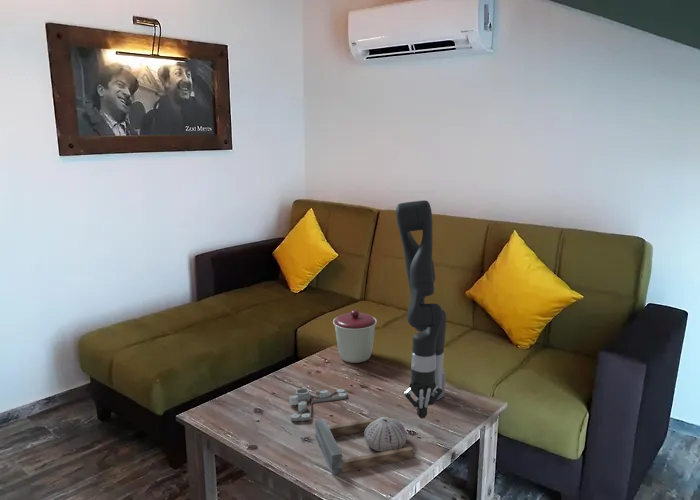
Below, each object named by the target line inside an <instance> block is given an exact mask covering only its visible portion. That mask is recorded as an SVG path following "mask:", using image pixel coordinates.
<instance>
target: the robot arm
mask: <svg viewBox="0 0 700 500" xmlns="http://www.w3.org/2000/svg"><path fill="white" fill-rule="evenodd" d="M432 213H433V212H432V208H431V204H430V202H429V201H428V200H425V199H424V200H416V201H415V200H414V201H408V202H407V201H406V202H401V203H398V204H397V205H396V208H395V217H396V223H397V228H398V232H399V236H400V240H401V244H402V248H403V255H404V262H405V264H404V265H405V270H406V275H407V280H408V285H409V291H410V297H409V298H410V299H409V305H408V309H407V322H408V324H409V325H410V327H412V328H414V329H415V330H416V331H418V332H417V333H415V334H414V335H413V337H412V349H411V350H412V352H411V353H412V355H411V362H410V363H411V365H410V367H411V368H410V383H409V386H408V387H409V388H407V389H406V390H403V391H402V394H403V395H404V396H405V398H406V399H407V400H408V401H409V402H410V403H411V405H412V406H413V407H414V408H416V414H417V416H418V417H419V419H425V418H426V417H427V415H428V408H429V406H432V405H434V403H435V402H436V401H438V400H440V399H442V398H443V397H445V393H446V372H445V370H444V355H445V352H444V351H445V350H444V349H445V343H446V329H447V313H446V311H445V310H444V309H443V308H442V307H441V306H440V304H438V303H435V302H434V303H426V301H425V300H426V297H429V296H432V295H433V294H434V293H435V285H434V283H435V281H436V272H435V265H434V260H433V214H432ZM415 231H416V232H417V231H422V236H421V237H422V238H421V241H420V244H419V243H418V242H417V240H415V238H414V236H413V235H412V233H411V232H415ZM413 394H414V396H415V399H416V400H415V399H414V398H413V397H412V396H413Z"/></svg>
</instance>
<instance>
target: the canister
mask: <svg viewBox="0 0 700 500" xmlns="http://www.w3.org/2000/svg"><path fill="white" fill-rule="evenodd" d="M332 323H333V325H334V329H335V337H336V338H335V339H336V345H337V351H338V355H339V357H340V358H341V359H342V361H344V362H348V363H352V364H354V363H355V364H358V363H364V362H366V361H368V360H369V359H370V358H371V357H372V352H373V345H374V340H375V339H374V338H375V329H376V328H375V327H376V325H377V323H378V321H377V318H376V317H374V316H372V315H370V314H368V313H364V312H360V311H358V310H356V309H353V310H351V311H350V312H346V313H343V314H340V315H338V316H336V317H334V319H333V321H332Z"/></svg>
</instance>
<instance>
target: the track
mask: <svg viewBox="0 0 700 500" xmlns="http://www.w3.org/2000/svg"><path fill="white" fill-rule="evenodd" d="M385 417H388V418H391V416H390V415H388V416H387V415H386V416H385ZM378 418H381V417H375V418H370V419H369V418H368V419H365V420H363V419H362V420H357V421H353V422H346V423H340V424H335V425H328V423H327V421H326V420H325V418H319V419H315V420H314V423H315V424H314V427H315V428H314V429H315V430H314V431H315V433H314V434H315V439H316V441H317V444H318V446H319V448H320V451H321V452H322V455H323V457H324V459H325V461H326V464H327V466H328V469H329V470H330V473H331V475H335V474H341V473H346V472H347V473H348V472H352V471H356V470H361V469H366V468H371V467H375V466H382V465H385V464H390V463H396V462H401V461H406V460H412V459H414V449H413V447H412V446H408V447H402V448H400V449H396V450H391V451H386V452H382V451H380V452H376V453H371V454H367V455H361V456H355V457H351V458H344V459H343V454H342V452H341V449H340V447H339V445H338V444H337V441H336V439H335V437H340V436H345V435H351V434H356V433H361V432H363V433H364V431H365V429H366V428H367V426H368V425H369V424H370V423H371V422H373V421H375V420H377V419H378Z"/></svg>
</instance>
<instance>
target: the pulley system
mask: <svg viewBox="0 0 700 500" xmlns="http://www.w3.org/2000/svg"><path fill="white" fill-rule="evenodd" d="M335 394H337V395H338V396H337V397H332V396H333V395H335ZM288 398H289V399H288V400H289V405H291V406H297V405H298V406H297V410H298V412H294V413H293V414H290V420H291V421H293V422H298V421H300V422H301V421H310V419H311V416H312V415H311V414H312V408H313V407H312V406H313V404H314V403H321V402H330V401H336V400H345V399H347V398H348V394H347V392H346V390H345V389H344V388H339V389H338V388H337V389H336V390H335V391H334V392H332V393H330V394H329V390H327V389H321V390H319V396H318V395H311V393H310V389H308V388H305V387H304V388H302V387H301V388H299V389H296V390H295V394H290V395H289V396H288ZM311 398H315V399H314V400H313V399H312V400H311ZM309 401H311V403H310V412H308V413H307V412H306V411H307V410H308V406H307V404H308V403H307V402H309ZM304 412H306V413H304ZM300 416H301V417H300Z"/></svg>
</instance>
